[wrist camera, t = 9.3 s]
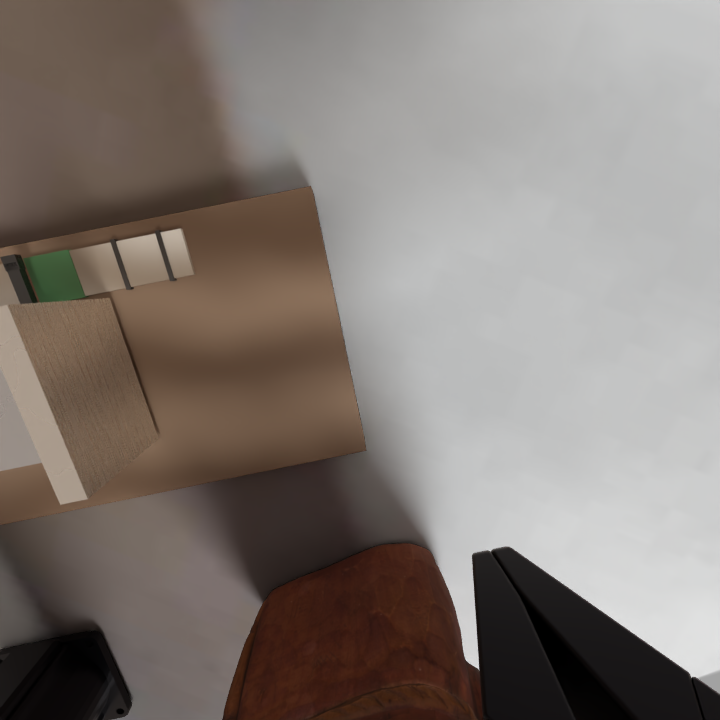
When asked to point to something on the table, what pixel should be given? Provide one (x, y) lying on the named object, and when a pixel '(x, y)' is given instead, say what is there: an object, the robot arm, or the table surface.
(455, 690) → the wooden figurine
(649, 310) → the table surface
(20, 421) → the gauge carriage
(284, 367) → the gauge base
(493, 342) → the table surface
